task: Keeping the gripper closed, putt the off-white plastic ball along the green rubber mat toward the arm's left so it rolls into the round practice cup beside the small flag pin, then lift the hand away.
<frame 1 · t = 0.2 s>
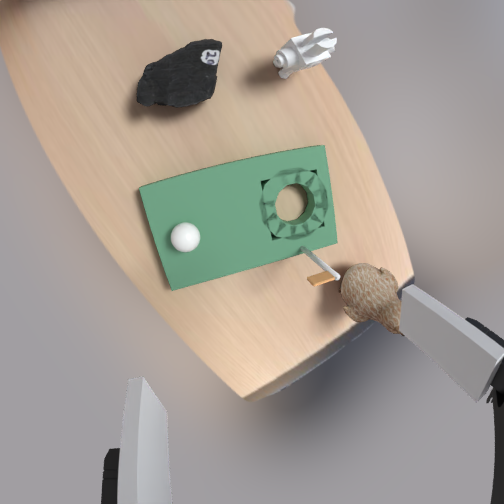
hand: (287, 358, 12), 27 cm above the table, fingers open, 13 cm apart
rock: (182, 81, 30), on the table
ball: (185, 237, 32), point 4 cm above the table, touching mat
figurine: (348, 277, 45), on the table
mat: (243, 212, 37), on the table
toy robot: (285, 66, 32), on the table
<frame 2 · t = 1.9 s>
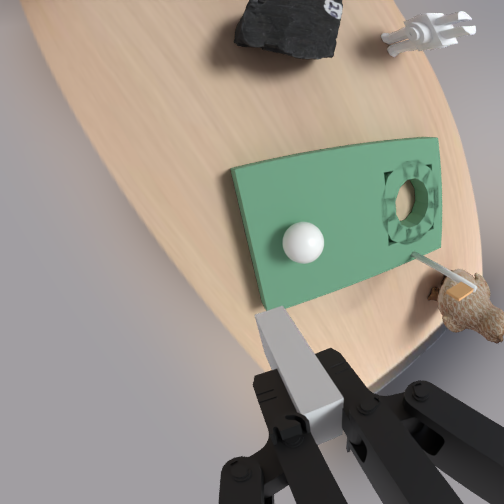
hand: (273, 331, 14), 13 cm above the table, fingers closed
rock: (282, 33, 21), on the table
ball: (303, 242, 23), point 4 cm above the table, touching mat
figurine: (436, 284, 36), on the table
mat: (355, 210, 28), on the table
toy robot: (392, 44, 23), on the table
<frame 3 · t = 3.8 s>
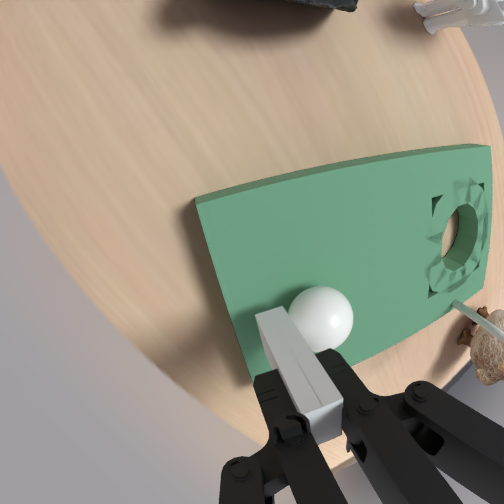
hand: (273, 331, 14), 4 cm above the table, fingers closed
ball: (320, 319, 14), point 4 cm above the table, tilted 12°, touching gripper, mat
figurine: (468, 324, 27), on the table
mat: (387, 251, 19), on the table
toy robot: (427, 18, 13), on the table
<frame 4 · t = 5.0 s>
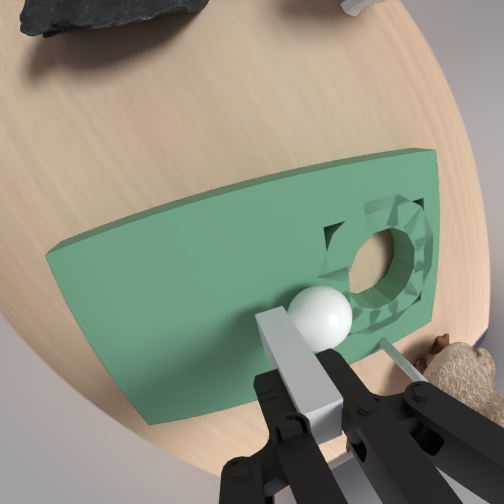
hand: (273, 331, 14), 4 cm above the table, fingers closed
rock: (139, 0, 10), on the table
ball: (319, 318, 14), point 4 cm above the table, tilted 111°, touching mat
figurine: (423, 353, 26), on the table
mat: (279, 287, 18), on the table
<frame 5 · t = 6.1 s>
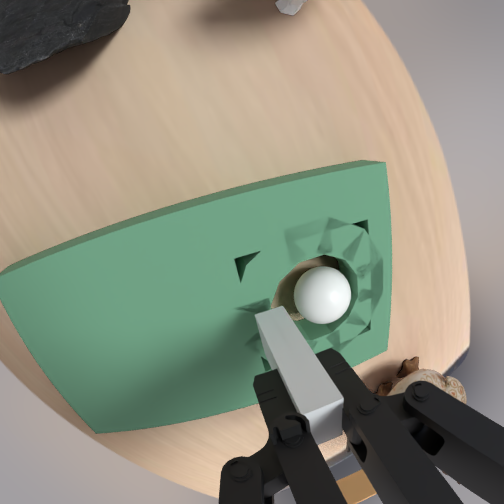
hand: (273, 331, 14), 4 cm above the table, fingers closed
rock: (66, 26, 9), on the table
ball: (322, 295, 17), point 2 cm above the table, tilted 106°
figurine: (389, 377, 25), on the table
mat: (204, 314, 17), on the table
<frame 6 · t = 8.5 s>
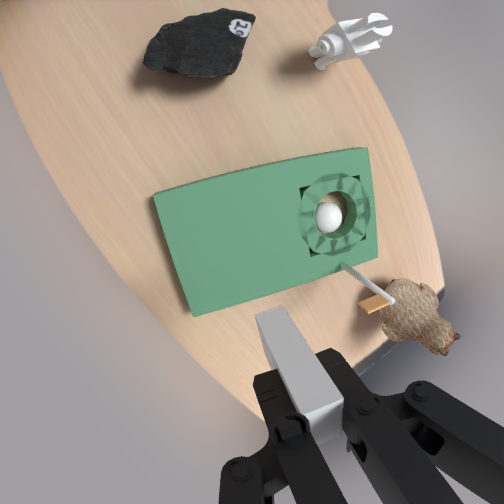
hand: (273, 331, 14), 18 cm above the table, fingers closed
rock: (200, 54, 24), on the table
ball: (326, 217, 31), point 2 cm above the table, tilted 54°
figurine: (383, 293, 40), on the table
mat: (277, 224, 32), on the table
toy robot: (321, 57, 27), on the table
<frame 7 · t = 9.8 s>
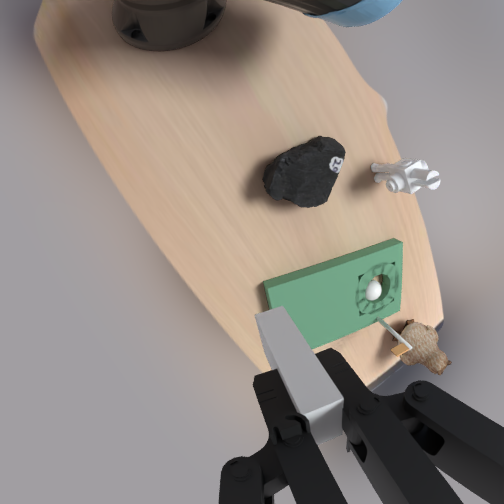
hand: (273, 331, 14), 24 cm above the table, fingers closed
rock: (297, 170, 37), on the table
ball: (371, 290, 44), point 2 cm above the table, tilted 54°
figurine: (400, 329, 53), on the table
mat: (339, 295, 45), on the table
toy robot: (379, 170, 40), on the table
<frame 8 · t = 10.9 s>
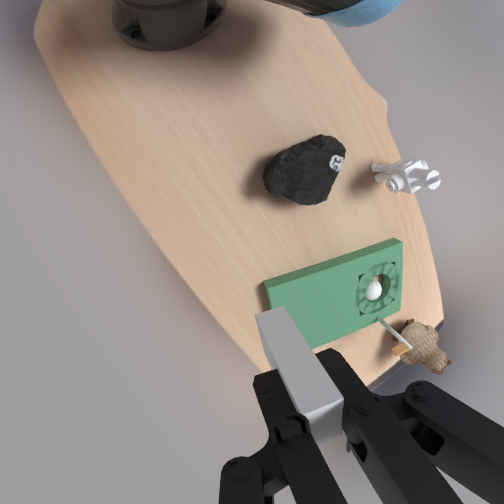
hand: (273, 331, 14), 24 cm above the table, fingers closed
rock: (297, 168, 37), on the table
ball: (371, 289, 44), point 2 cm above the table, tilted 55°
figurine: (400, 329, 53), on the table
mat: (339, 295, 45), on the table
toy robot: (379, 170, 40), on the table
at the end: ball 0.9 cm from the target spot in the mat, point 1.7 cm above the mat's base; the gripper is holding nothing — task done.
